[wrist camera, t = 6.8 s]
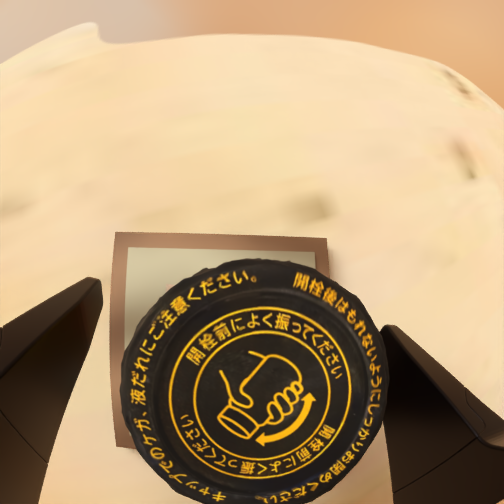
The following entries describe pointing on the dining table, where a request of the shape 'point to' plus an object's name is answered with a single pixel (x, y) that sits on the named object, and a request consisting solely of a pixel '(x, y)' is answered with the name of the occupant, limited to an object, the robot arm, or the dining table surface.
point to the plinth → (172, 272)
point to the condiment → (254, 383)
